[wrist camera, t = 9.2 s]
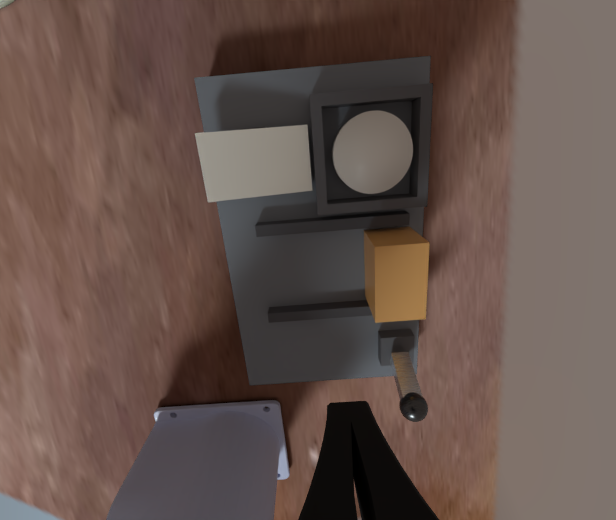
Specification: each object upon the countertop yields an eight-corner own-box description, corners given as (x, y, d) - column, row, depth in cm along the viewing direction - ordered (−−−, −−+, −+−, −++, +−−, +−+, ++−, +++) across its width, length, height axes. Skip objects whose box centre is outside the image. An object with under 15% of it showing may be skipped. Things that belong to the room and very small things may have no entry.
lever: (386, 363, 19) (401, 427, 16) (388, 350, 18) (405, 415, 16) (409, 362, 19) (428, 425, 16) (412, 348, 18) (434, 413, 16)
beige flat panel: (209, 199, 16) (207, 202, 15) (196, 134, 14) (194, 133, 14) (308, 188, 16) (312, 190, 16) (303, 125, 15) (307, 124, 15)
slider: (365, 295, 19) (375, 322, 16) (363, 230, 17) (374, 246, 15) (407, 292, 19) (425, 319, 16) (409, 226, 17) (429, 242, 14)
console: (254, 365, 23) (246, 400, 20) (206, 85, 17) (184, 71, 14) (407, 355, 23) (423, 388, 20) (416, 65, 16) (441, 47, 13)
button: (333, 192, 17) (335, 196, 15) (329, 117, 15) (331, 114, 14) (403, 186, 16) (411, 190, 15) (404, 110, 15) (414, 106, 14)
